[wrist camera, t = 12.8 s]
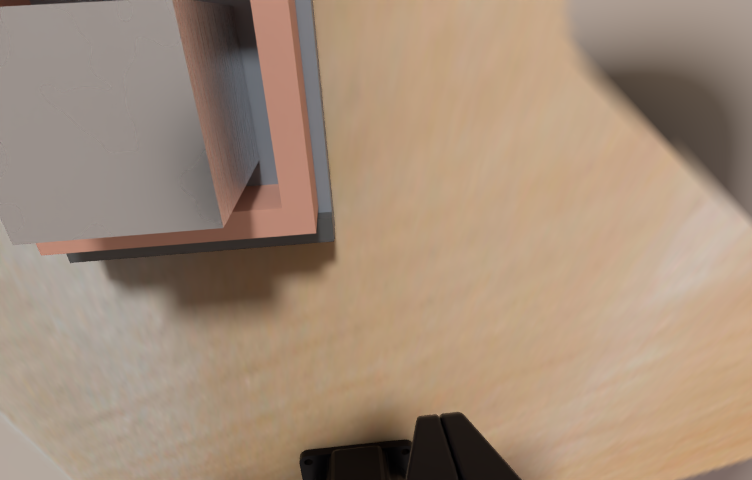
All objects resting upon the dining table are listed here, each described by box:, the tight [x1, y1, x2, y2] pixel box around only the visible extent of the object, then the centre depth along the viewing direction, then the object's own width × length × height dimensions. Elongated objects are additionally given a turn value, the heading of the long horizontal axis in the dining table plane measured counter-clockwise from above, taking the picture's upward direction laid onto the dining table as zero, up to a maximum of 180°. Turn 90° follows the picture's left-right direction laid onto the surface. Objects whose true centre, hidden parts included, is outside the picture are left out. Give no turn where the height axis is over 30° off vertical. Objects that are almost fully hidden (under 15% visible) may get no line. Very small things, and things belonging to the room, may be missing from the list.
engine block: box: [0, 0, 259, 245], centre depth 12 cm, size 5×5×6 cm
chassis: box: [0, 0, 335, 263], centre depth 15 cm, size 12×10×4 cm
